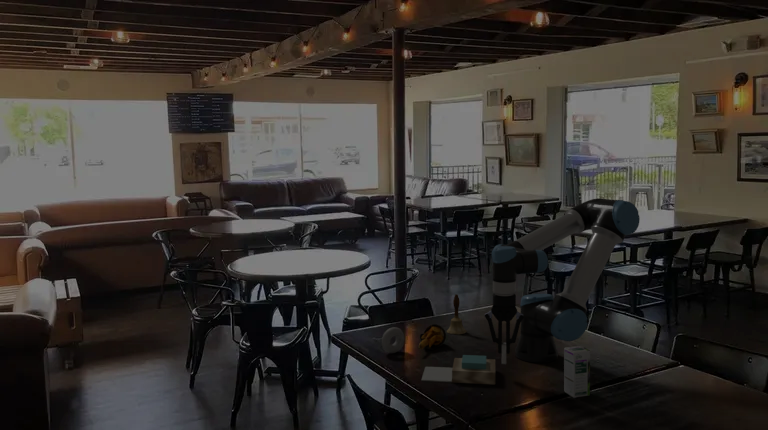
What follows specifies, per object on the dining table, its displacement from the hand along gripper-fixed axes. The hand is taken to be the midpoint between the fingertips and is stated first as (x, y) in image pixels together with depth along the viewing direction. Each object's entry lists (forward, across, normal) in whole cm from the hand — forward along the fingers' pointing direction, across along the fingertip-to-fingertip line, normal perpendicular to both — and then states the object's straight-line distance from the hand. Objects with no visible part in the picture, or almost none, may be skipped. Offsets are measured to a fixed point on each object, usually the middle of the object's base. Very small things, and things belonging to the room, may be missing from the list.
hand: (503, 362), depth 211 cm
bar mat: (+5, +22, 0) cm, 23 cm away
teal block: (+1, +10, 0) cm, 10 cm away
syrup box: (+5, -22, +11) cm, 25 cm away
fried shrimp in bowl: (+6, +28, -28) cm, 40 cm away
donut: (+6, +41, -21) cm, 46 cm away
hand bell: (+6, +19, -52) cm, 56 cm away
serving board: (+5, +10, 0) cm, 11 cm away
